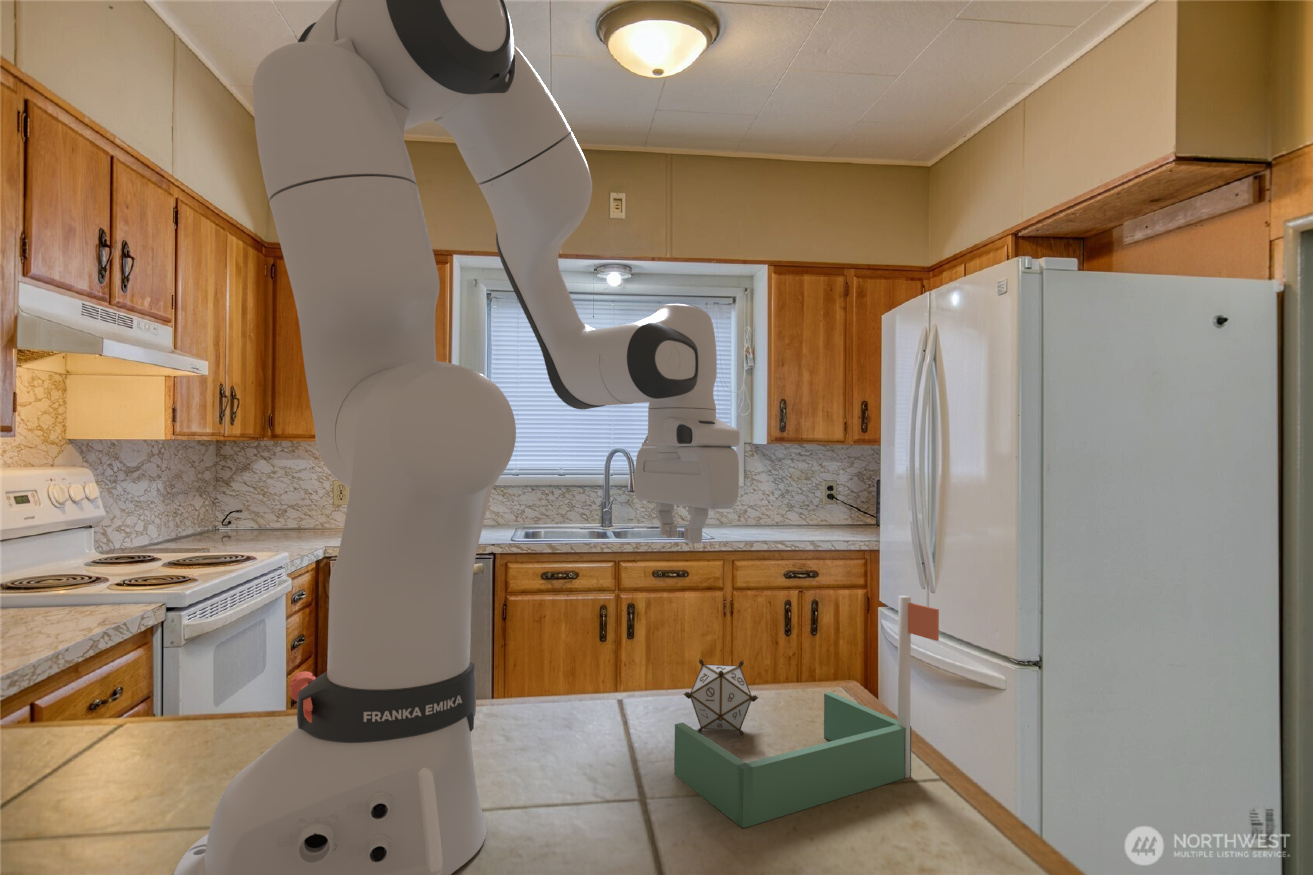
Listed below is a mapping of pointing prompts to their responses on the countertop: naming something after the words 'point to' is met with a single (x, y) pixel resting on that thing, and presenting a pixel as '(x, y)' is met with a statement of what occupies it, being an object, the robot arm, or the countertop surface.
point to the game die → (721, 697)
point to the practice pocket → (813, 749)
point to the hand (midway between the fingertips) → (680, 539)
